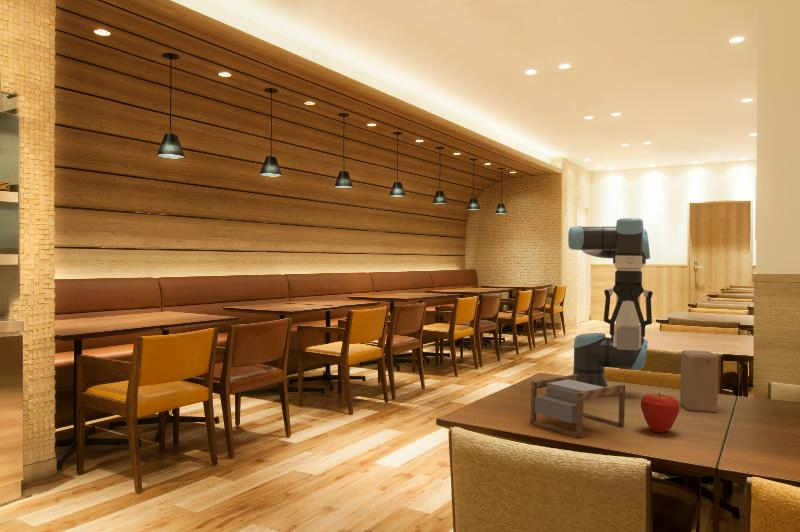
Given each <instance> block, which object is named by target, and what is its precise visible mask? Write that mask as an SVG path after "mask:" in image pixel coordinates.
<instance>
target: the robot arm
mask: <svg viewBox="0 0 800 532" xmlns="http://www.w3.org/2000/svg"><path fill="white" fill-rule="evenodd" d="M615 225H616V226H581V225H579V226H571V227H570V228H569V229H568V235H567V236H568V238H567V244H568V245H567V246H568V248H569V249H570V250H576V251H581V252H582V253H584V254H586V255H589V256H592V257H595V258H601V259H612V264H613V265H614V268H615V269H616V270H615V271H614V285H613V287H612V288H610V289H609V288H608V289H604V290H603V293H604V296H605V301H604V303H605V304H604V312H603V321H604V323H605V324H606V323H607V324H609V335H610V337H606V333H604V332H600V333H599V332H590V333H589V332H588V333H582V334H578V335H576V336H575V338H574V340H573V342H574V343H573V370H572V375H575V374H576V375H578V382H583V383H587V384H592V385H597V386H601V387H609V386H608V382H607V378H606V375H605V371H606V370H605V368H611V369H622V370H629V371H631V370H635V371H636V370H642V369H643V368H644V367H645V363H646V358H647V352H648V345H649V343H648V339H645V336H646V326H648V325H652V323H653V315H652V297H653V293H654V292H653V291H652V290H647V289H644V287H643V272H642V269H643V267H644V266H646V264H647V263H646V262H647V260H650V258H651V254H650V252H651V251H650V243H649V236H648V231H647V230H646V229H645V228H644V221H643V219H641V218H637V217H634V218H633V217H630V218H629V217H628V218H627V217H626V218H618V219H617V220H616V224H615ZM613 293H614V294H615V296H616V299H615V306H614V309H613V312H612V314H611V318H609V317H610V309H611V306H610V304H611V297H612V296H613ZM642 294H643V296H644V297H645V316H646V320H645V318H644V315H643V312H642V309H641V295H642ZM620 325H632V326H636V327H637V328H638V329H639V350H620V349H617V348H616V347H617V327H620ZM602 397H604V396H602ZM602 397H601V398H602Z"/></svg>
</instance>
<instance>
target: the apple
mask: <svg viewBox="0 0 800 532" xmlns="http://www.w3.org/2000/svg"><path fill="white" fill-rule="evenodd" d="M640 409H641V411H642V415H643V417H644V420H645V422H646V424H647V427H649V428H650V430H651V431H652V432H654V433H666V432H668V431H669V430H671V429H672V427H674V426H673V425H674V424H675V422H676V421H677V418H678V415H679V413H680V401H678V400H677V399H676V398H675V397H673V396H671V395H665V394H661V393H660V391H659V392H658V394H656V393H648V394H644V395H643V396H642V397H641V399H640Z"/></svg>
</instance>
